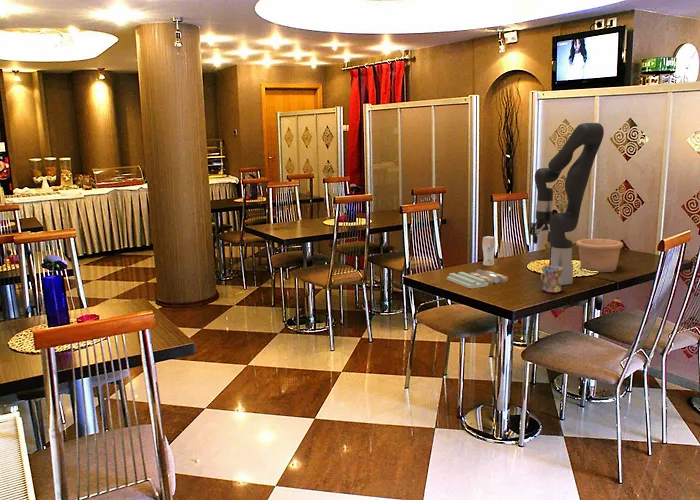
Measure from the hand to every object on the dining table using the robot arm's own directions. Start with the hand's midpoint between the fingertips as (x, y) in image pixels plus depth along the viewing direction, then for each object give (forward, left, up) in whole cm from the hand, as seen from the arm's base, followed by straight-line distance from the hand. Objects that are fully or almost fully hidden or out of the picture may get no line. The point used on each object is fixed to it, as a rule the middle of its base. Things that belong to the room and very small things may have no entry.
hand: (542, 242), depth 286 cm
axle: (+8, +26, -15) cm, 31 cm away
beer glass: (+37, +5, -17) cm, 41 cm away
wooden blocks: (+8, +26, -17) cm, 32 cm away
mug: (-23, +15, -17) cm, 33 cm away
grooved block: (+8, +38, -17) cm, 42 cm away
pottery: (-1, -35, -17) cm, 39 cm away
